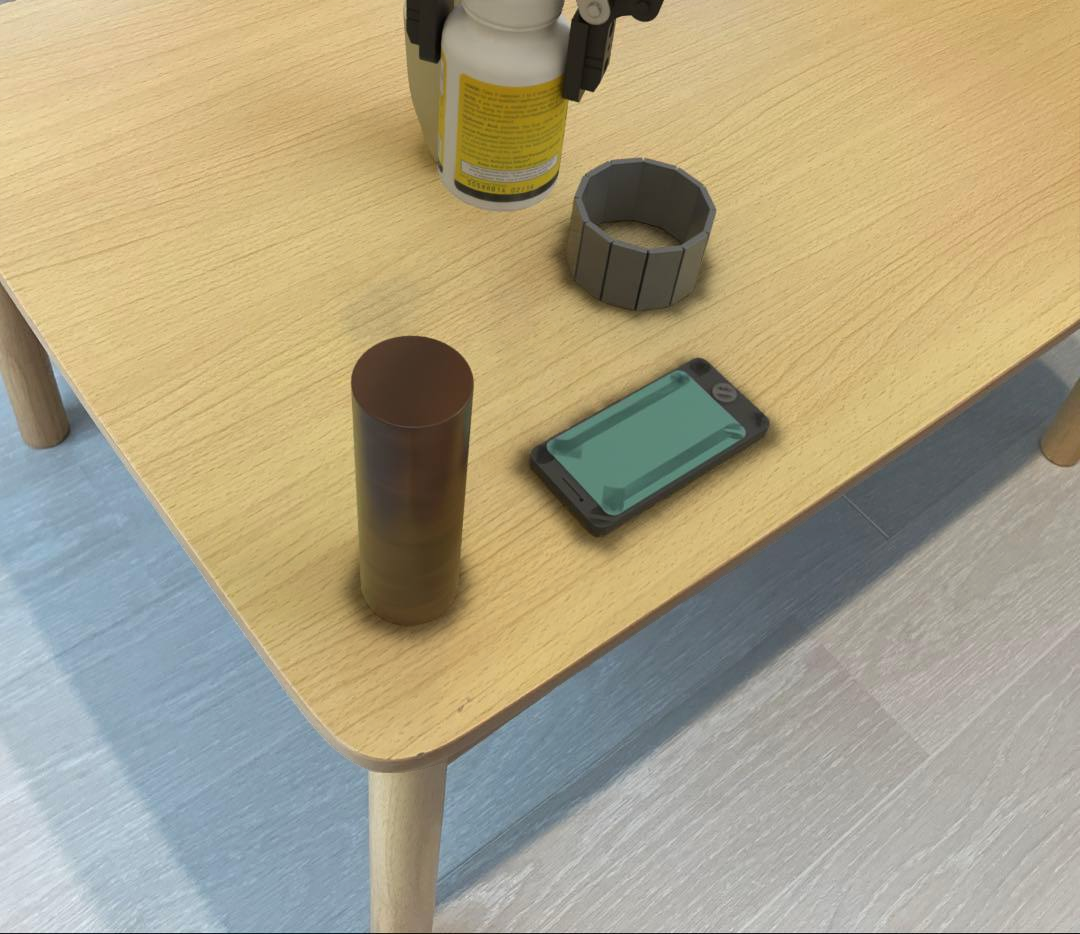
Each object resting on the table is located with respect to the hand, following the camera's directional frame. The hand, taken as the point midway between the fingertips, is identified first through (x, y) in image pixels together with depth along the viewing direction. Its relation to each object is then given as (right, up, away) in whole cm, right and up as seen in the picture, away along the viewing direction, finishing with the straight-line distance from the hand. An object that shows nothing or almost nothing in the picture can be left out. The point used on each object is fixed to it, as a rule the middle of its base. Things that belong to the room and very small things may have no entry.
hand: (506, 69), depth 48 cm
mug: (-5, +7, +43) cm, 44 cm away
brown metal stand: (-6, -23, +20) cm, 31 cm away
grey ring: (+8, -1, +38) cm, 39 cm away
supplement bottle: (-1, -3, +5) cm, 6 cm away
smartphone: (+8, -15, +28) cm, 33 cm away
